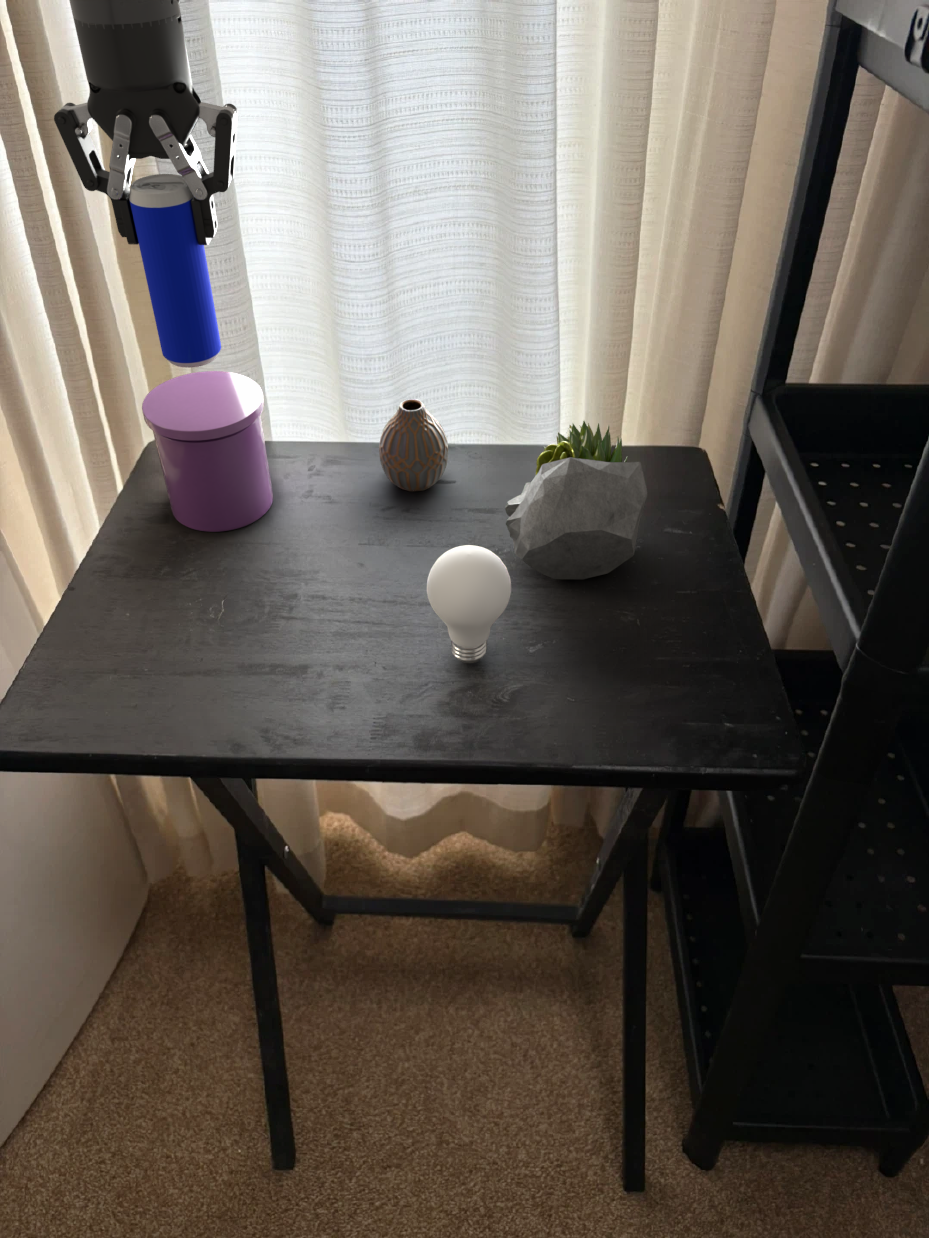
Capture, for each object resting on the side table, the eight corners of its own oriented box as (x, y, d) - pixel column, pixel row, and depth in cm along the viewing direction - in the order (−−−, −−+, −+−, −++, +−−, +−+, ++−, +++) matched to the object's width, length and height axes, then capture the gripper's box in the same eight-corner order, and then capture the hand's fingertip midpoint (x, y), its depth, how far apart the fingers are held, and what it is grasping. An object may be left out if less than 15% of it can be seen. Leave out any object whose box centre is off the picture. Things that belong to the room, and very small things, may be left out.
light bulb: (473, 620, 90) (473, 517, 82) (525, 660, 86) (530, 557, 78) (413, 654, 86) (407, 551, 79) (464, 698, 83) (463, 593, 75)
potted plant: (482, 567, 90) (475, 438, 98) (583, 617, 97) (569, 492, 105) (584, 499, 82) (568, 365, 90) (685, 558, 89) (662, 429, 98)
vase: (462, 479, 106) (462, 404, 100) (414, 508, 102) (411, 431, 96) (415, 454, 109) (412, 380, 103) (367, 481, 106) (361, 406, 100)
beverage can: (229, 343, 94) (200, 173, 84) (213, 371, 90) (181, 196, 80) (173, 341, 94) (139, 171, 84) (155, 368, 90) (117, 194, 81)
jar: (154, 534, 99) (127, 431, 91) (180, 470, 107) (157, 370, 100) (268, 535, 99) (251, 431, 91) (285, 471, 107) (271, 371, 99)
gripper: (8, 19, 71) (71, 259, 83) (214, 20, 71) (249, 260, 82) (43, -4, 77) (98, 224, 88) (235, -4, 77) (265, 225, 88)
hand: (171, 240), depth 85 cm, fingers closed on beverage can, 5 cm apart
